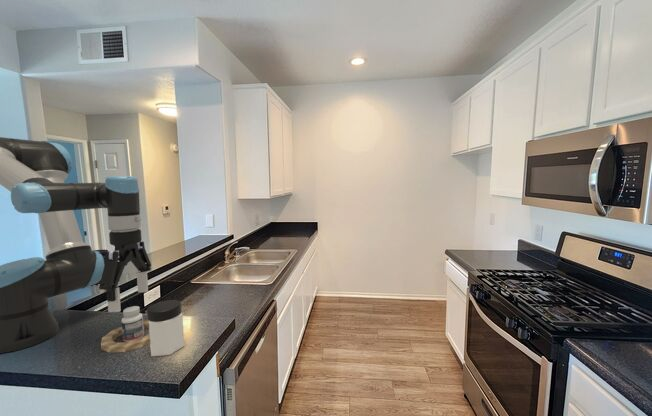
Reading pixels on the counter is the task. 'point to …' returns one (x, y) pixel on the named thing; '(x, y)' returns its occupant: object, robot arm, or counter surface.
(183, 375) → the counter surface
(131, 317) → the pill bottle
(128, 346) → the bead ring
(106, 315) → the counter surface
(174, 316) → the jar
